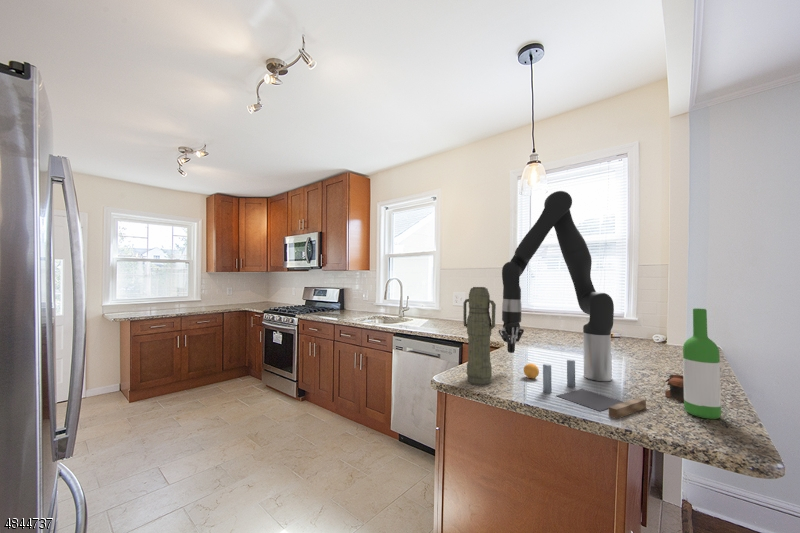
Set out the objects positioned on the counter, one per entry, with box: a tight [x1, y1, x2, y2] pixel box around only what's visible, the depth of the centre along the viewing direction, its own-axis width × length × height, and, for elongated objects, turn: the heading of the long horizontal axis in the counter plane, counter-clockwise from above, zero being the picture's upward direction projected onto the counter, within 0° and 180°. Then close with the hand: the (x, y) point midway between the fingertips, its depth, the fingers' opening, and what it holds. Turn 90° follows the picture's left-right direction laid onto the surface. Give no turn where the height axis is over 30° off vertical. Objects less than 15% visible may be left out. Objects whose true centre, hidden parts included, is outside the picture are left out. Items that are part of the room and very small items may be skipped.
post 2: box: [566, 359, 576, 388], centre depth 117 cm, size 3×3×9 cm
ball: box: [523, 363, 540, 379], centre depth 126 cm, size 6×6×6 cm
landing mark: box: [556, 388, 624, 412], centre depth 104 cm, size 14×14×1 cm
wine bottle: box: [682, 308, 722, 420], centre depth 93 cm, size 8×8×30 cm
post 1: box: [542, 363, 552, 394], centre depth 111 cm, size 3×3×9 cm
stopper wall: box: [608, 397, 647, 420], centre depth 94 cm, size 16×2×2 cm, turn 119°
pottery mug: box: [664, 374, 684, 403], centre depth 105 cm, size 12×10×8 cm
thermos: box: [463, 286, 497, 387], centre depth 121 cm, size 9×12×35 cm
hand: (511, 352), depth 134 cm, fingers closed
